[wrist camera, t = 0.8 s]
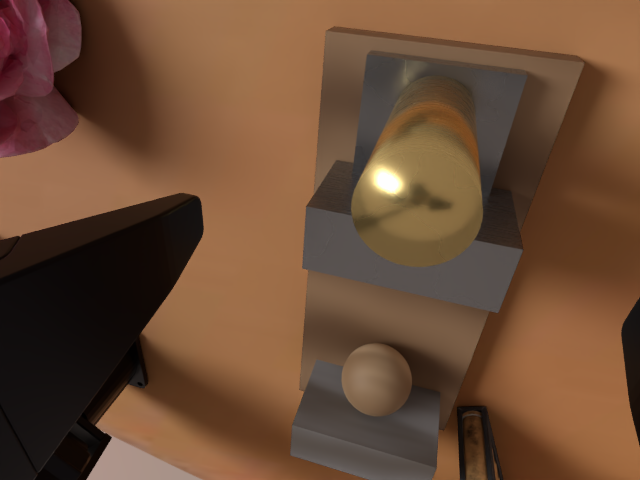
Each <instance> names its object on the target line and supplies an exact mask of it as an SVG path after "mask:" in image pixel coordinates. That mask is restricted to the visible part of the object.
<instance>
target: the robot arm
mask: <svg viewBox="0 0 640 480" xmlns="http://www.w3.org/2000/svg"><path fill="white" fill-rule="evenodd" d="M203 230H204V226H203V216H202V205H201V201H200V199H199V197H198V196H195V195H190V194H186V193H178V194H175V195H171V196H167V197H163V198H159V199H156V200H152V201H148V202H144V203H141V204H137V205H133V206H129V207H125V208H122V209H118V210H114V211H110V212H107V213H103V214H99V215H95V216H91V217H88V218H84V219H80V220H76V221H73V222H69V223H65V224H61V225H57V226H54V227H50V228H46V229H42V230H39V231H35V232H31V233H27V234H23V235H22V236H21V237H20V236H16V237H12V238H8V239H4V240H0V480H86V479H87V478H88V476H89V474H90V472H91V471H92V469H93V468H94V466H95V464H96V463H97V461H98V459H99V458H100V456H101V455H102V453H103V451H104V450H105V448H106V447H107V445H108V443H109V442H110V440H111V438H112V437H111V436H109V435H108V434H107V433H103V432H102V431H101V430H100V429H98V428H97V427H96V426H95V425H96V424H97V422H98V421H99V420H100V419H101V417H102V416H103V415H104V414H105V412H106V411H107V410H108V409H109V407H110V406H111V405H112V403H113V402H114V401H115V400H116V398H117V397H118V396H119V395H120V393H121V392H122V391H123V390H124V388H125V387H126V386H127V385H128V384H130V385H133V386H136V387H140V388H145V387H146V385H147V384H148V380H147V375H146V370H145V366H144V361H143V356H142V352H141V347H140V342H139V338H138V336H139V334H140V333H141V332H142V330H143V329H144V328H145V326H146V325H147V324H148V322H149V321H150V319H151V318H152V317H153V315H154V314H155V313H156V311H157V310H158V308H159V307H160V306H161V304H162V303H163V302H164V300H165V299H166V297H167V296H168V294H169V293H170V292H171V290H172V289H173V287H174V285H175V284H176V282H177V281H178V279H179V277H180V275H181V273H182V272H183V270H184V268H185V266H186V265H187V263H188V261H189V259H190V258H191V256H192V254H193V252H194V250H195V249H196V247H197V245H198V243H199V242H200V240H201V238H202V235H203ZM621 336H622V344H623V353H624V362H625V370H626V379H627V387H628V395H629V402H630V408H631V412H632V417H633V421H634V425H635V429H636V433H637V437H638V441H639V445H640V297H639V299H638V301H637V302H636V304H635V305H634V307H633V309H632V310H631V312H630V313H629V315H628V317H627V318H626V320H625V321H624V323H623V326H622V332H621Z"/></svg>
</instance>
